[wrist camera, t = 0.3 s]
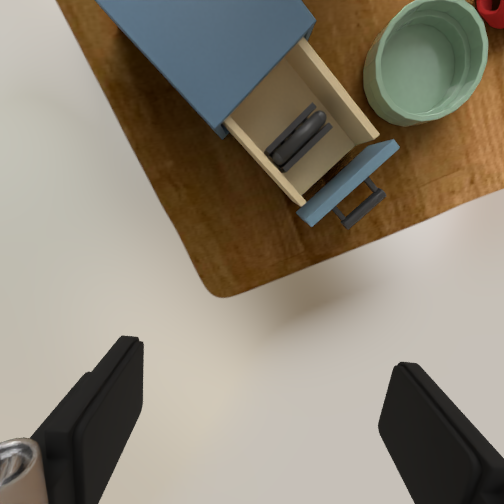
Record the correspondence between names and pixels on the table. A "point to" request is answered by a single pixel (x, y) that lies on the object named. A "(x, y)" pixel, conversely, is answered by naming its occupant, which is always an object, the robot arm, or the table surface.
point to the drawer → (326, 149)
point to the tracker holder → (491, 13)
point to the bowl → (425, 62)
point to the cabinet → (213, 45)
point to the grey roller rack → (298, 138)
